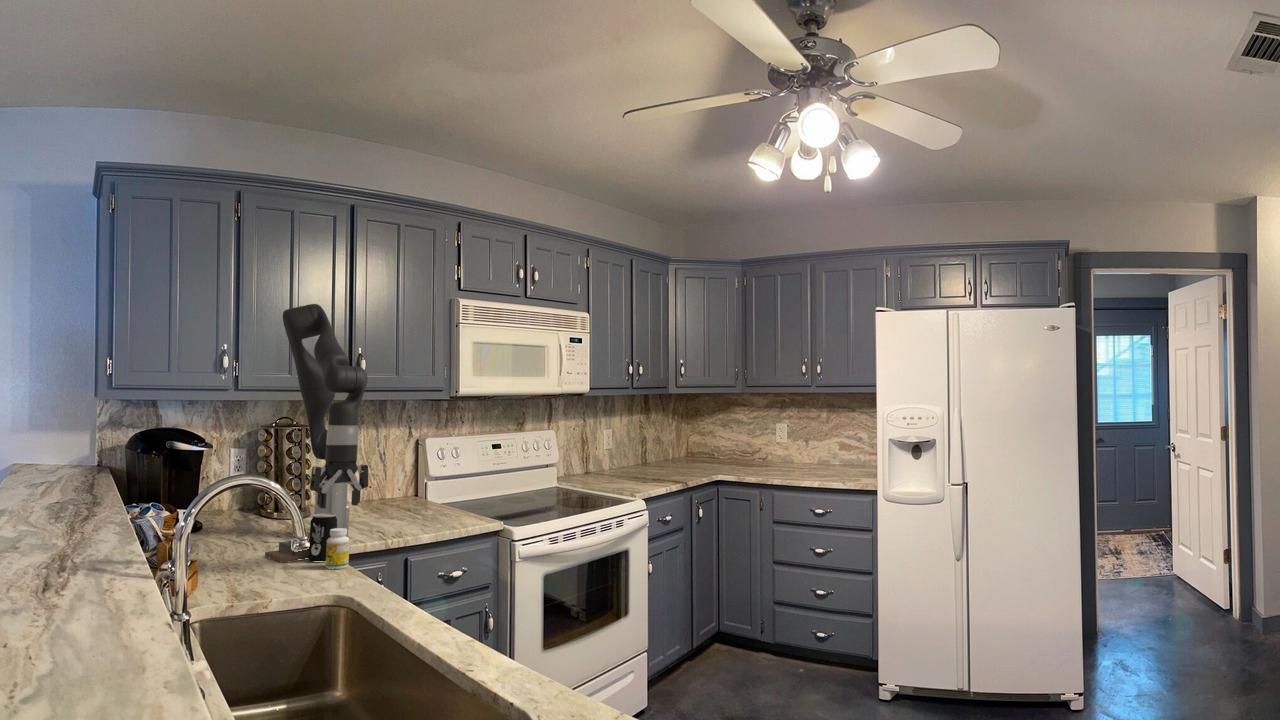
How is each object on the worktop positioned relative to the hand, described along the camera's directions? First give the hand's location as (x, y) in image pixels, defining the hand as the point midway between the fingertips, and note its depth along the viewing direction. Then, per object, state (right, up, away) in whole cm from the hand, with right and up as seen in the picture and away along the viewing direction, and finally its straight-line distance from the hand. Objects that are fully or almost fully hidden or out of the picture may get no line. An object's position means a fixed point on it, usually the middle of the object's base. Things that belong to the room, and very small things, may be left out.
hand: (338, 506), depth 179 cm
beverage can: (-7, -16, +7) cm, 19 cm away
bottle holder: (-15, -16, +12) cm, 25 cm away
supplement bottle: (0, -16, -1) cm, 16 cm away
